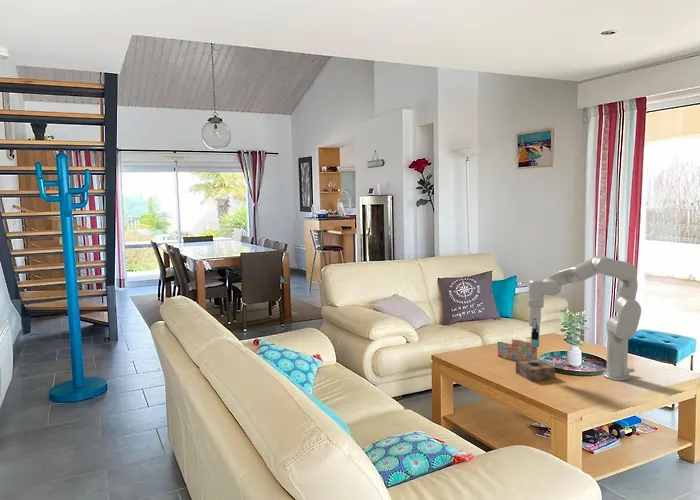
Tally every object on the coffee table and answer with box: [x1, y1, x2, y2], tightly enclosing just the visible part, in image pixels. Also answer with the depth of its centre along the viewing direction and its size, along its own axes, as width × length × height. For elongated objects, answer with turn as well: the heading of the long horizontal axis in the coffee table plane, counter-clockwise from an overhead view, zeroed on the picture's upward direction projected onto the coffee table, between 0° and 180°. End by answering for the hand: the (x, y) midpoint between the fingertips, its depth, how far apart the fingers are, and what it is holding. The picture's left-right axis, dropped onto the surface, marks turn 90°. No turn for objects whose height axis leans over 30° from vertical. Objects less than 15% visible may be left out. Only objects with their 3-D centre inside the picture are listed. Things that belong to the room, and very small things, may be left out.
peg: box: [530, 324, 541, 348], centre depth 276 cm, size 4×4×12 cm
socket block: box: [515, 359, 556, 382], centre depth 278 cm, size 14×14×6 cm
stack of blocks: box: [497, 336, 538, 362], centre depth 306 cm, size 21×6×12 cm, turn 47°
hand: (535, 338), depth 276 cm, fingers closed on peg, 4 cm apart
